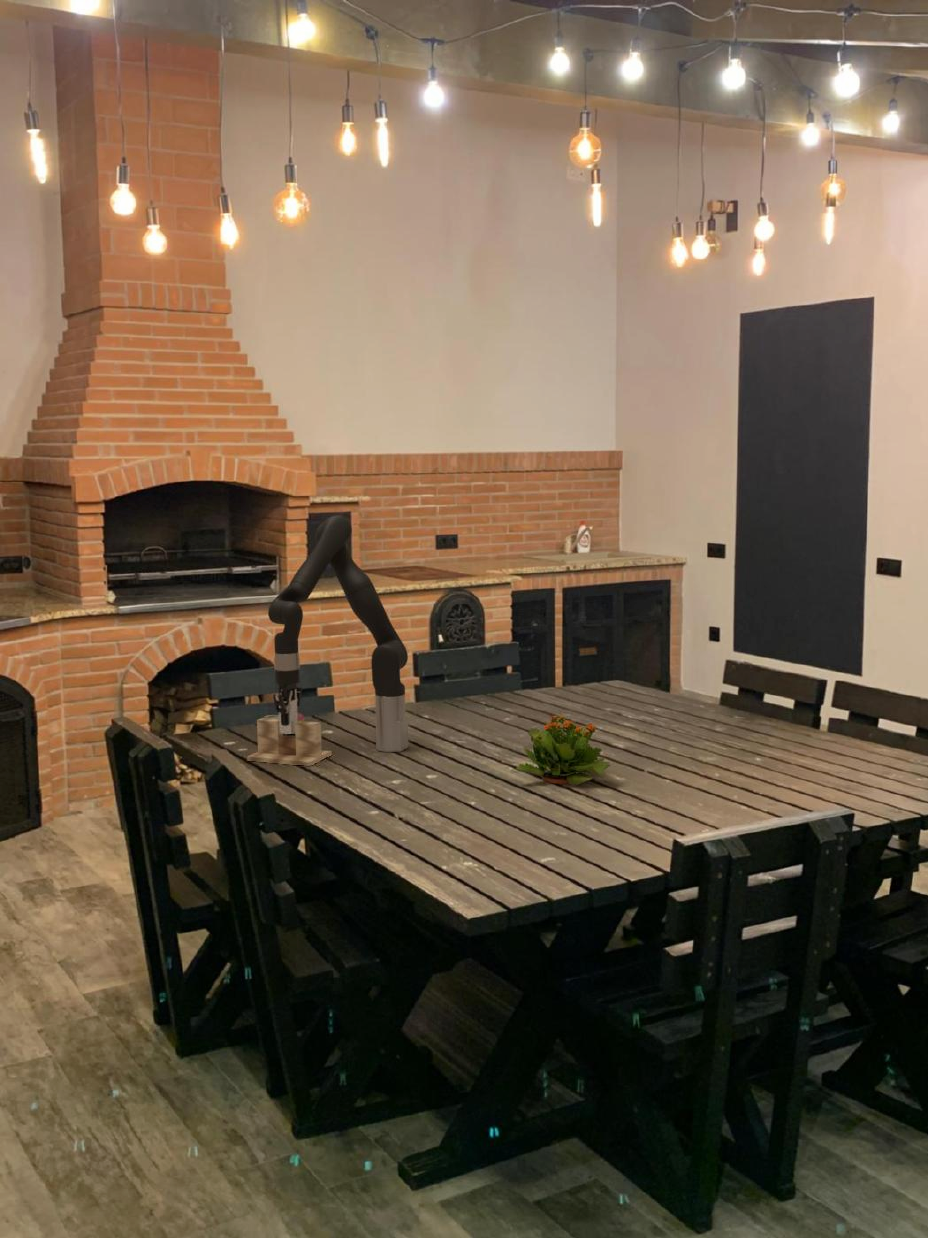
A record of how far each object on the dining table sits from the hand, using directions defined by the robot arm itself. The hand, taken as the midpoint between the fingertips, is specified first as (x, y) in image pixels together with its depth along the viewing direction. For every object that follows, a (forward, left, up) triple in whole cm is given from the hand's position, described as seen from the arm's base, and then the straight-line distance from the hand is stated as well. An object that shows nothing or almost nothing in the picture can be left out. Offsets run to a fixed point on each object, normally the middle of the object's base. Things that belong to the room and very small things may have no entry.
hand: (288, 723), depth 371 cm
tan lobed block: (0, 0, -11) cm, 11 cm away
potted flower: (-83, -2, -11) cm, 84 cm away
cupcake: (+16, -31, -11) cm, 37 cm away
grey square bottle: (0, 0, -3) cm, 3 cm away
